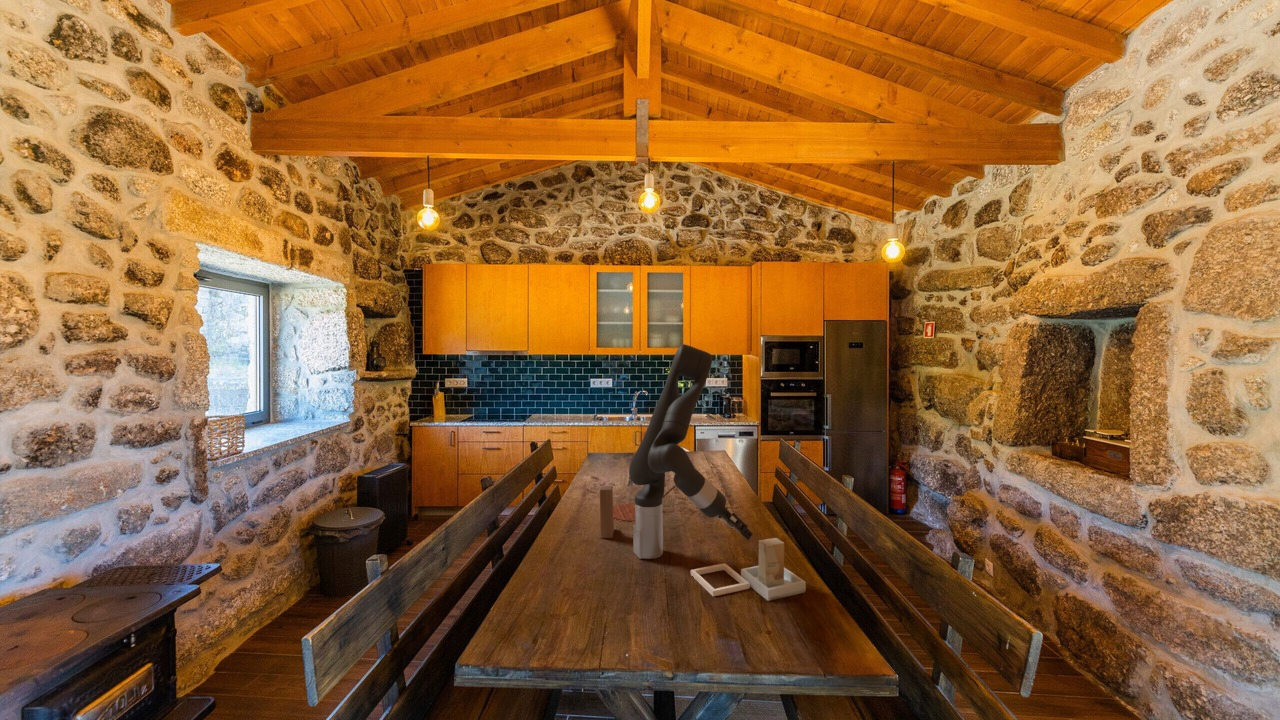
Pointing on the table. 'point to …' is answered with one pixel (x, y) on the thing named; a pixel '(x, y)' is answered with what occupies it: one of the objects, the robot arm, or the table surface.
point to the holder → (722, 590)
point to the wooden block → (606, 512)
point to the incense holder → (627, 510)
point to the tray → (778, 591)
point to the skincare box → (771, 562)
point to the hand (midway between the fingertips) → (741, 531)
